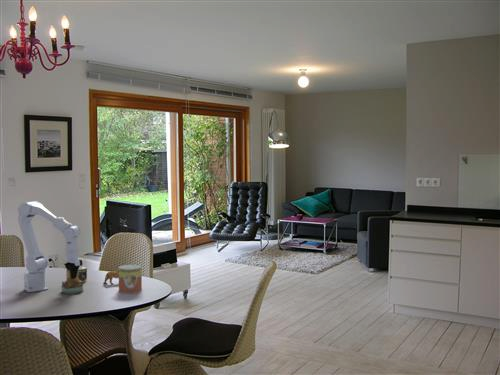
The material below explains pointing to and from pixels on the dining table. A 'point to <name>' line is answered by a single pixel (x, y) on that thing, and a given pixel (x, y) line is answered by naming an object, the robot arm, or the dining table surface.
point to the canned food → (130, 279)
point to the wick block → (70, 277)
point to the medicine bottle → (82, 272)
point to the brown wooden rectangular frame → (72, 284)
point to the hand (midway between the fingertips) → (72, 277)
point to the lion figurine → (111, 276)
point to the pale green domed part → (72, 290)
